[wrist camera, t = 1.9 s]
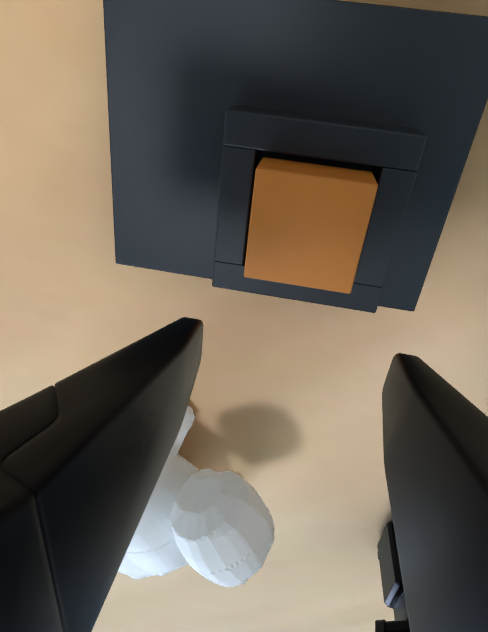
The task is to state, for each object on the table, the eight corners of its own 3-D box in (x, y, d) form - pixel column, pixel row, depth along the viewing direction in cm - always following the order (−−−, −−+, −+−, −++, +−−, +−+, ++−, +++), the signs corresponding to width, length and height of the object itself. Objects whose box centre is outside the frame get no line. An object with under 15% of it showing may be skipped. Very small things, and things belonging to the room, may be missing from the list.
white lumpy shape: (163, 476, 36) (327, 504, 26) (90, 577, 30) (265, 660, 21) (104, 398, 33) (267, 398, 23) (10, 495, 27) (174, 549, 17)
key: (372, 171, 16) (378, 184, 14) (347, 272, 18) (350, 294, 16) (262, 156, 16) (255, 167, 14) (250, 256, 18) (243, 277, 16)
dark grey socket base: (493, 24, 16) (539, 13, 13) (406, 290, 22) (422, 333, 18) (125, -16, 17) (76, -36, 14) (132, 247, 23) (98, 279, 19)
